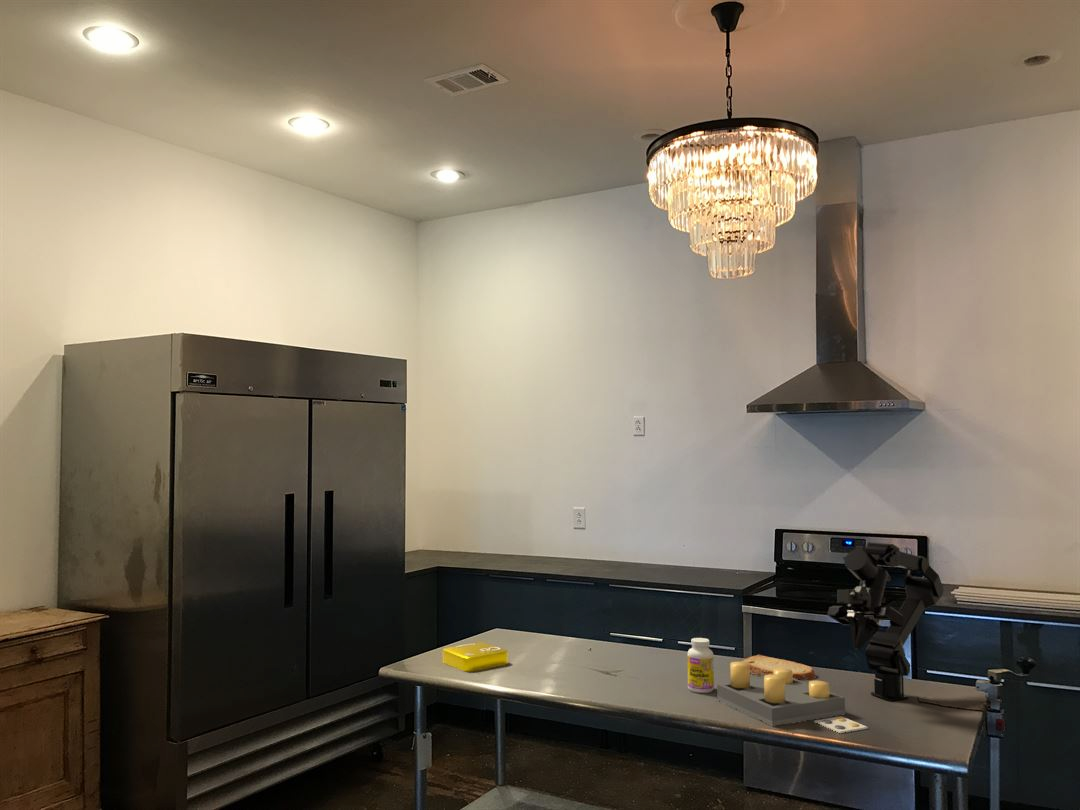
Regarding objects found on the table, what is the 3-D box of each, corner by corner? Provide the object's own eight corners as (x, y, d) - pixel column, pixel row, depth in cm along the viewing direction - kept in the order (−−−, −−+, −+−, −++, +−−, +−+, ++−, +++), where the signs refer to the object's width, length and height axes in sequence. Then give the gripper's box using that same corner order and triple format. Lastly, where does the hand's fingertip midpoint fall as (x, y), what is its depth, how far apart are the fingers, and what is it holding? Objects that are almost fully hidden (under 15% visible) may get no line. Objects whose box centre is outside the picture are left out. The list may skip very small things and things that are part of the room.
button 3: (784, 688, 210) (784, 667, 210) (796, 693, 205) (796, 671, 206) (770, 690, 208) (769, 669, 208) (781, 695, 204) (781, 673, 204)
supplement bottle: (685, 692, 211) (684, 641, 212) (690, 685, 217) (689, 636, 218) (711, 694, 209) (710, 643, 209) (715, 687, 215) (715, 638, 216)
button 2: (776, 696, 193) (775, 673, 193) (789, 701, 188) (788, 678, 189) (760, 698, 191) (759, 675, 191) (773, 704, 187) (772, 680, 187)
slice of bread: (821, 679, 223) (821, 665, 223) (760, 684, 219) (760, 669, 220) (788, 663, 241) (788, 650, 241) (731, 667, 237) (731, 653, 237)
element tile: (482, 655, 252) (482, 639, 252) (510, 665, 240) (510, 648, 240) (439, 663, 243) (440, 646, 243) (466, 674, 231) (466, 656, 231)
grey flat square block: (785, 690, 212) (785, 675, 212) (845, 714, 192) (844, 697, 193) (717, 700, 204) (717, 684, 204) (772, 726, 184) (771, 708, 184)
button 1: (742, 682, 205) (741, 660, 205) (753, 686, 200) (753, 665, 201) (726, 684, 203) (726, 662, 203) (738, 689, 199) (737, 667, 199)
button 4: (820, 701, 198) (819, 679, 198) (834, 707, 193) (833, 684, 194) (805, 704, 196) (804, 681, 196) (818, 709, 192) (818, 686, 192)
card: (841, 718, 190) (841, 715, 190) (867, 728, 183) (867, 726, 183) (814, 722, 187) (814, 720, 187) (839, 733, 180) (839, 731, 180)
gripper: (820, 575, 209) (803, 632, 202) (879, 572, 193) (864, 635, 186) (850, 595, 212) (835, 652, 206) (911, 594, 196) (897, 656, 189)
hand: (856, 648), depth 197 cm, fingers closed
